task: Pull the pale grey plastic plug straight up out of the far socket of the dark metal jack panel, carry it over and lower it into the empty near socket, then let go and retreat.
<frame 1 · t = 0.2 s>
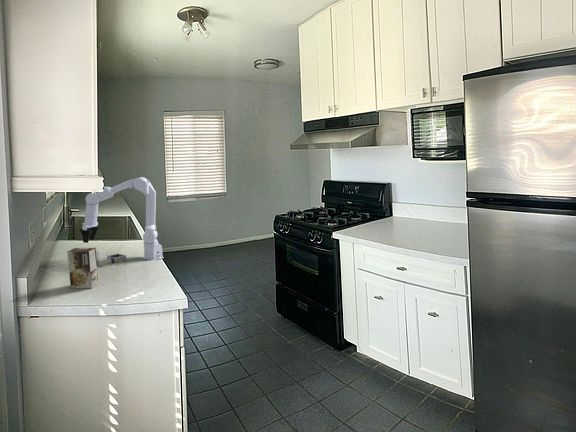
hand: (88, 241, 204), 10 cm above the counter, tool pointing down, fingers open, 7 cm apart
plug: (101, 263, 196), point 1 cm above the counter, touching jack panel
jack panel: (108, 263, 200), on the counter
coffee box: (84, 286, 165), on the counter
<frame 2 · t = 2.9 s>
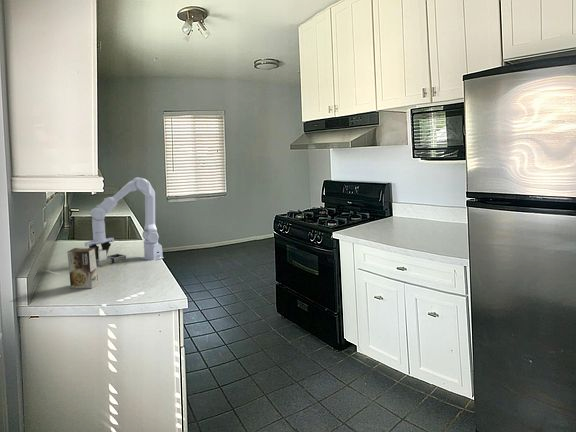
hand: (100, 258, 196), 4 cm above the counter, tool pointing down, fingers closed on plug, 4 cm apart
plug: (101, 263, 196), point 1 cm above the counter, touching gripper, jack panel
everything else where it was.
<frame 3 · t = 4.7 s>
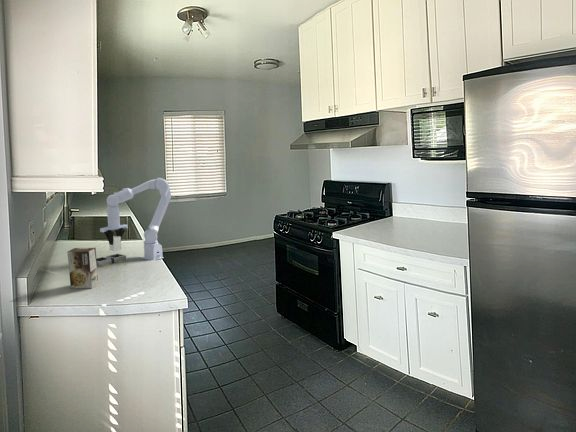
hand: (115, 243, 202), 10 cm above the counter, tool pointing down, fingers closed on plug, 4 cm apart
plug: (115, 249, 203), point 6 cm above the counter, touching gripper
everything else where it was.
when the fingers open (4 cm above the counter, at t = 6.7 s): plug stays where it is, resting on jack panel.
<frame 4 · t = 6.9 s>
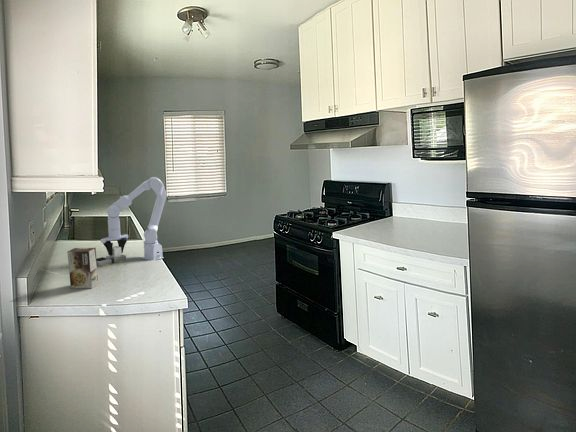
hand: (115, 254, 203), 4 cm above the counter, tool pointing down, fingers open, 6 cm apart
plug: (116, 260, 204), point 1 cm above the counter, touching jack panel
everything else where it was.
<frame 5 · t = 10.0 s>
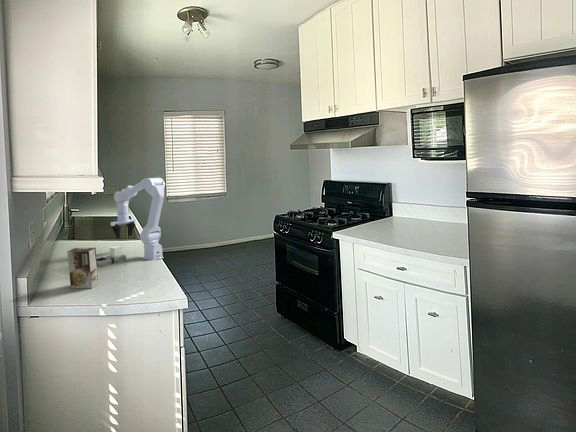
hand: (124, 236, 218), 10 cm above the counter, tool pointing down, fingers open, 7 cm apart
nothing on the counter moved.
at the end: plug 0.0 cm from the target spot on the jack panel, point 0.6 cm above the jack panel's base; plug tilted 0°; the gripper is holding nothing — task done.
